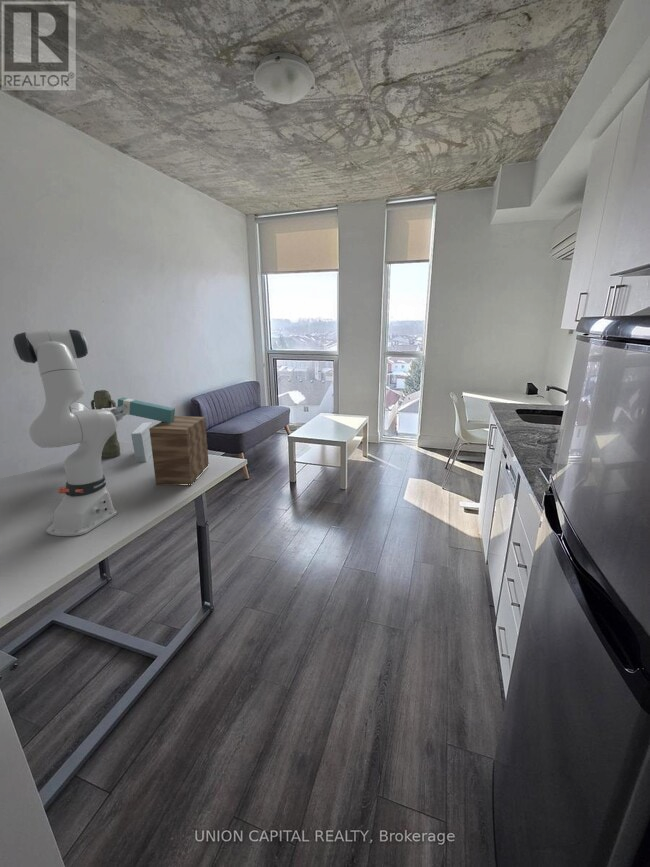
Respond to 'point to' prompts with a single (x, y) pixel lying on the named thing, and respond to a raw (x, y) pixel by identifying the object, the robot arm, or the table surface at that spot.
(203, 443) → the brown wooden box
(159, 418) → the teal rectangular bar
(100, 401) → the thermos
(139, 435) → the skincare box
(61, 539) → the table surface
